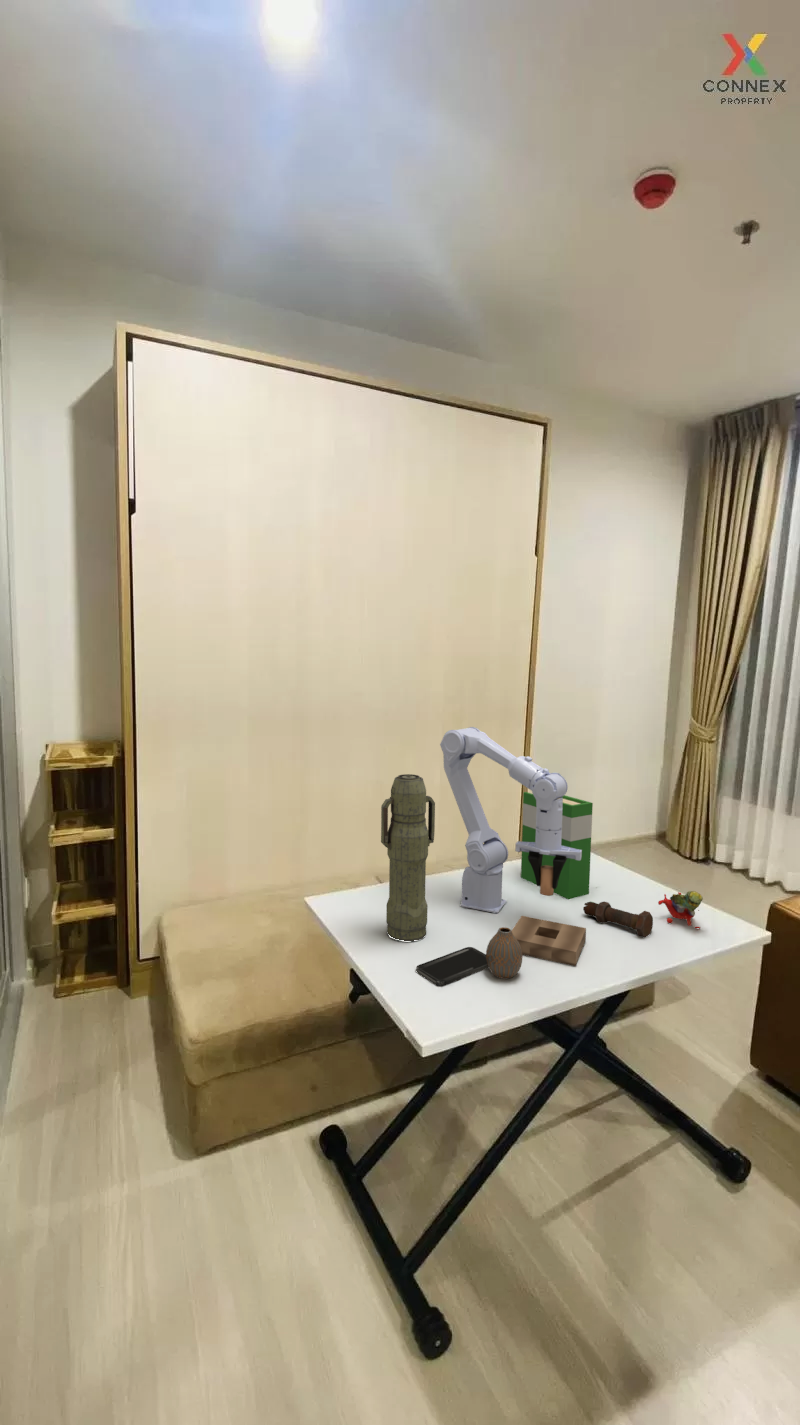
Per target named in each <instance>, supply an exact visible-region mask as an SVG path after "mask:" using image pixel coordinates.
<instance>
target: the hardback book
mask: <svg viewBox="0 0 800 1425" xmlns="http://www.w3.org/2000/svg"><path fill="white" fill-rule="evenodd" d="M522 796H523V798H522V828H521V829H522V832H521V835H522V836H521V842H535V839H536V807H537V806H536V799H535V797H534V795H533V793H531V792H528V791H524V792H523V794H522ZM561 798H563V807H562V808H563V810H562V837H561V845H562V846H566V847H570V848H574V849H579V850H582V857H581V860H580V861H579V860H575V859H571V858H567V860H566V862H565V864H564V866H563V868H562V871H561V873H560V876H559V880H558V885H557V888H556V889H554V892H553V894H556V895H558V896H559V897H561V898H563V899H566V900H572V899H575V898H580V897H584V896H587V895H589V894H590V874H591V855H592V854H591V850H592V827H593V826H592V825H593V804H594V803H593V802H591V801H586V800H583V799H580V798H576V797H572V796H568V795H566V794H565V795H564V796H563V797H561ZM559 799H560V798H559ZM528 856H529V852H523V851H521V862H520V863H521V864H520V878H521V879H523V880H525V881H528V882H529V883H532V884H534V885H536V879H535V875H534V871H533V869H532V866H531V864H530V862H529V860H528ZM555 857H556V856H551V855H544V854H543V858H542V866H544V865H547V866H552V867H553V859H554V858H555Z"/></svg>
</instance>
